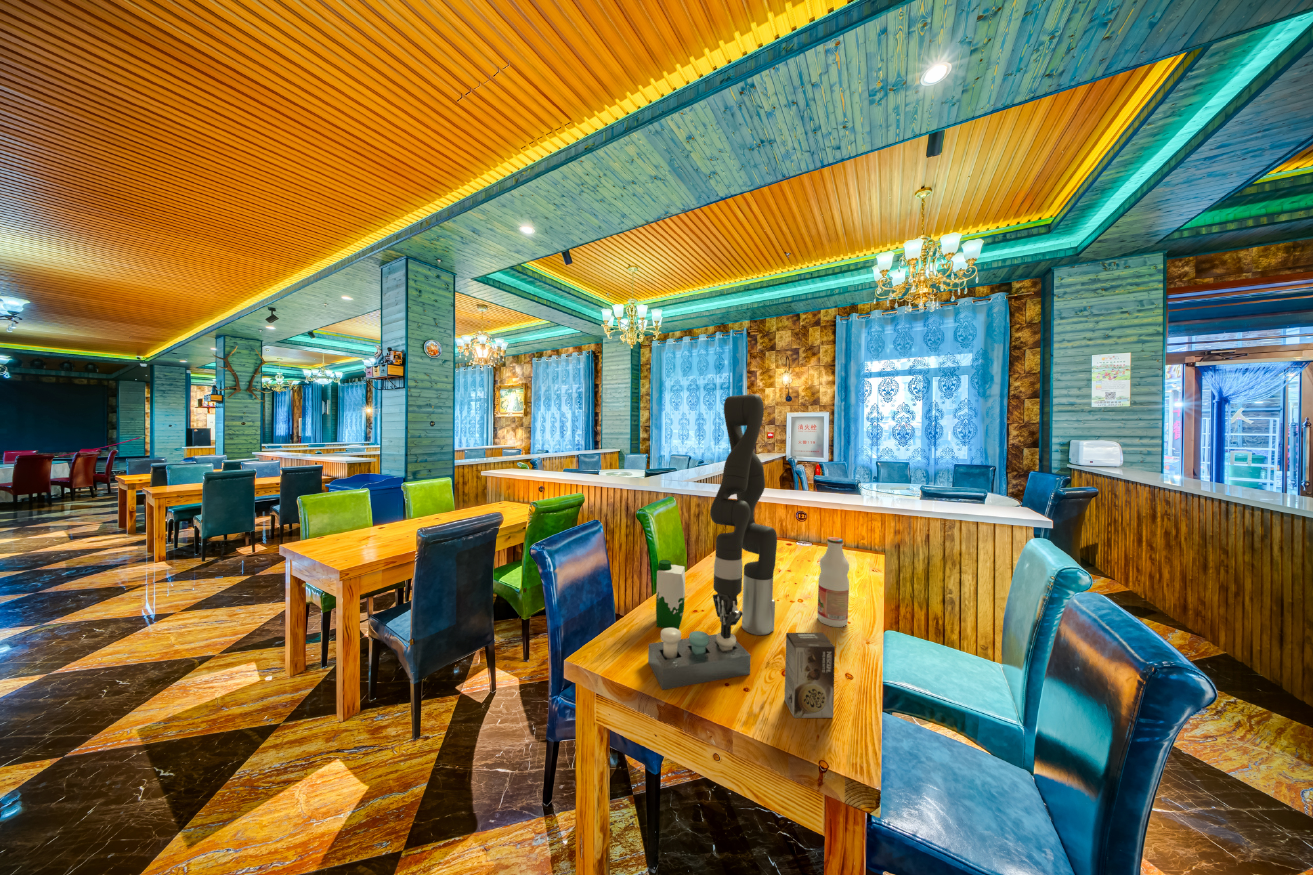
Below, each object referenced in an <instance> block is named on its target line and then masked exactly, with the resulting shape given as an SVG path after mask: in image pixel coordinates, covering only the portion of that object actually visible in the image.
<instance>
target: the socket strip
mask: <svg viewBox="0 0 1313 875" xmlns="http://www.w3.org/2000/svg"><path fill="white" fill-rule="evenodd" d="M717 634H718V633H716V634H708V635H709V644H708V645H707V646H706V651H705V654H699V655H694V654H693V653H692V645H691V644H690V642H689V637H687V638H681V640H680V641H679V642H678V645H677V658H674V659H666V658H664V656H663V646H664V642H663V641H660V642H659V641H658V642H652V643H648V656H647V659H648V660H647V663H648V665H649V667H650V668H651V671H652V673H653V674H654V676H655V678H656V681H657V682H658V684H659V686H660V688H661V690H662V691H665V690H669V689H670V690H671V689H675V688H680V687H686V686H691V685H697V684H704V683H710V682H713V681H719V680H725V679H730V678H737V677H741V676H747V675H750V674H751V657H752V656H751V654H750V653H749V652H748V651H747V649H745V648H744V647H743V645H742V644H741V643H739V641H738V640H736V645H735V646H734V647H733V649H731V650H725V651H722V650H721V649H720V648H719V645H718V644H717V643H716V635H717Z"/></svg>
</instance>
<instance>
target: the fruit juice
mask: <svg viewBox="0 0 1313 875" xmlns="http://www.w3.org/2000/svg"><path fill="white" fill-rule="evenodd" d="M826 540H827V541H826V542H827V548H826V551H825V553H824V554H823V555H822V556H821V558H820V560H819V567H820V574H819V576H818V585H817V586H818V588H817V591H818V592H817V619H818V621H819V622H820V623H822V624H824V625H826V626H829V627H833V628H844V627H846V626H847V625H848V622H849V621H848V620H849V597H850V596H849V594H850V591H849V590H850V580H849V578H848V574H849V572H850V563H849V561H848V559H847V557H846V556H845V553H844V550H843V545H844V539H843V538H840V537H836V536H828V537H827V538H826ZM845 625H846V626H845ZM843 626H844V627H843Z"/></svg>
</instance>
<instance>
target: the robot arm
mask: <svg viewBox="0 0 1313 875" xmlns="http://www.w3.org/2000/svg"><path fill="white" fill-rule="evenodd" d="M764 406H765V405H764V401H763V399H762V397H761V396H760V395H759V394H755V393H754V394H753V393H752V394H750V393H749V394H741V395H740V394H739V395H730V396H727V397H726V398H725V400H724V403H723V415H724V421H725V426H726V432H727V435H728V439H729V444H730V445H729V447H730V453H729V454H728V455H727V458H726V459H725V461H724V466H723V473H722V479H721V483H720V486H719V489H718V491H717V493H716V495H715V497H714V500H713V501H712V503H711V506H710V510H709V516H710V519H711V521H712V522H713V523H714V524H716V525H720V526H721V525H722V526H727V527H728V526H729V527H734V530H733V531H732V532H723V533H719V534H718V535H717V536H716V540H715V558H714V564H713V585H712V586H713V590H714V591H715V592H716V594H712V599H713V603H714V608H715V613H716V616H717V618H719V622H720V624H721V626H720V633H721V636H722V637H723V638H724V639H726V638H730V637H731V634H732V631H731V630H732V626H736V625H737V624H738V622H739V621H740V620H741V628H742V629H743V631H745V632H747V633H749V634H752V635H756V636H766V635H769V634H770V633H771V632H773V631H775V614H776V613H775V611H776V600H774V599H773V598H774V594H773V593H774V572H775V567H776V560H777V558H776V557H777V556H776V555H777V549H778V548H777V547H778V534H777V532H776V529H775V528H773V527H772V526H767V525H763V524H757V523H756V522H755V508H756V506H757V504H758V502H759V500H761V497H762V496H763V493H764V491H765V488H766V481H765V480H766V478H765V470H764V465H763V463H762V461H761V459H760V457H759V456H757V454H756V453H755V451H754V450H755V447H756V444H757V441H758V438H759V435H760V432H761V431H760V430H761V427H762V423H763V419H764V412H765V410H764V409H765V408H764ZM745 426H746V427H745ZM742 427H745V430H744V433H743V429H742ZM733 495H736V499H731V498H730V497H731V496H733ZM743 550H744V551H745V552H748V553H753V554H756V555H758V560H757V561H756V560H755V561H749V562H747V563H745V564H744V566H743ZM741 593H742V607H741V608H742V609H741V610H739V608H738V604H739V603H738V596H739V594H741Z"/></svg>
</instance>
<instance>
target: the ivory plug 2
mask: <svg viewBox="0 0 1313 875" xmlns="http://www.w3.org/2000/svg"><path fill="white" fill-rule="evenodd" d="M716 634H717V635H716V643H717V644H718V645H719V648H720V649H721V650H722V651H725V650H731V649H733V647H734V646H735V645H736V641H737V637H736V635H734V634H733V633H731V637H730V638H726V639H724V638H723V637H722V636H721V632H718V633H716Z"/></svg>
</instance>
